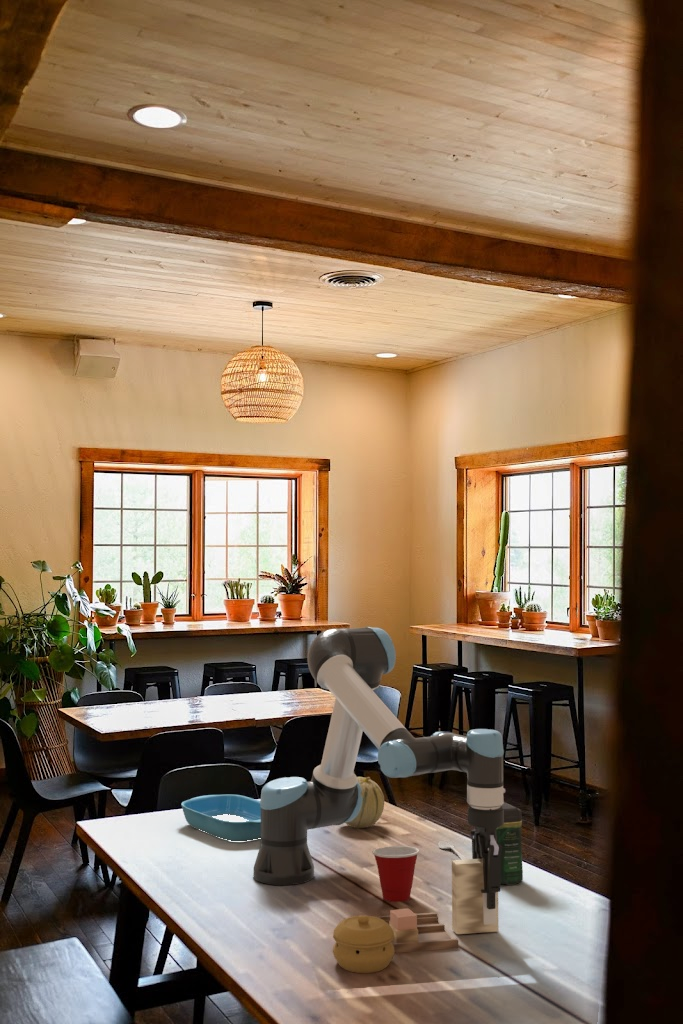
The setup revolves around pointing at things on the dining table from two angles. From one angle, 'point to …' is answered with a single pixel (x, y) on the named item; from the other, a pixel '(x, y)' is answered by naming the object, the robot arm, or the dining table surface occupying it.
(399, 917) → the offcut terracotta
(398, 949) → the rack
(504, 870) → the coffee jar
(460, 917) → the birch block
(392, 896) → the plastic cup
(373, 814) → the cantaloupe
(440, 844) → the spoon
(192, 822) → the casserole dish
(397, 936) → the offcut oak
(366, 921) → the pot
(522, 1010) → the dining table surface
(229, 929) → the dining table surface
